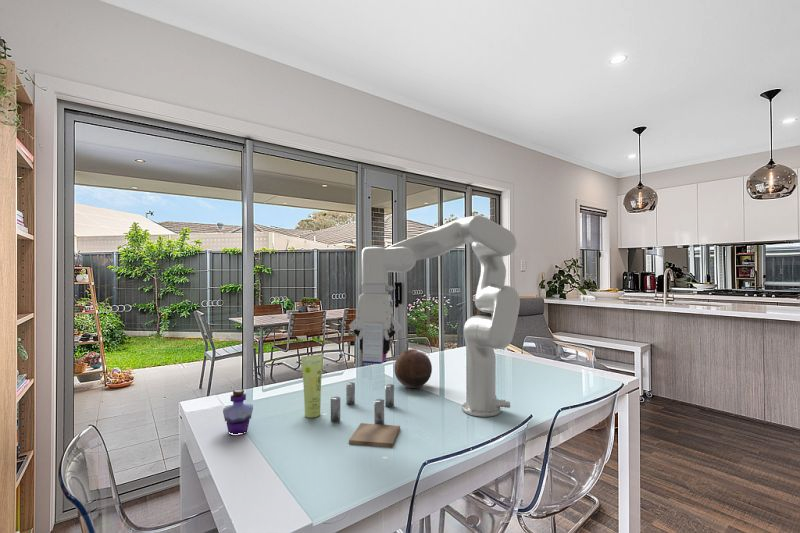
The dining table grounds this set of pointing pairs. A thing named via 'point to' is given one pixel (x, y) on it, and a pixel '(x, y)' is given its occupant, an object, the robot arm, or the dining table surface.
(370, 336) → the supplement box
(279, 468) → the dining table surface
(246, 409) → the potion bottle
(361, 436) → the walnut pad
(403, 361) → the wooden sphere
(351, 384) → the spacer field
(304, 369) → the tube
